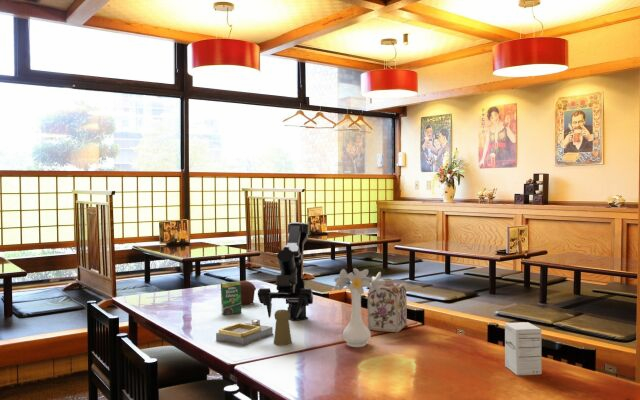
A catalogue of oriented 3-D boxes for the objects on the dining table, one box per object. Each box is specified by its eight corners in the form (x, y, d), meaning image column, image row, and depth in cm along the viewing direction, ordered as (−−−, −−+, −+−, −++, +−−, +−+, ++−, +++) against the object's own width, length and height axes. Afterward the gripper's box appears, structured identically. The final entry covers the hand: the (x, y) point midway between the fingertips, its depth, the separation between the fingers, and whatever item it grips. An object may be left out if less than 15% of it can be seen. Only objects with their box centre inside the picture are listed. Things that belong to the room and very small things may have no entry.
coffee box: (222, 315, 217) (221, 283, 217) (221, 313, 220) (220, 282, 220) (241, 313, 220) (241, 282, 220) (239, 311, 223) (239, 280, 223)
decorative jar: (407, 325, 197) (407, 277, 196) (398, 333, 186) (398, 282, 186) (377, 322, 202) (376, 275, 201) (366, 330, 191) (366, 280, 191)
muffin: (261, 302, 242) (261, 280, 241) (245, 307, 232) (245, 284, 232) (241, 299, 248) (241, 278, 248) (225, 304, 239) (225, 282, 238)
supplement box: (504, 366, 150) (503, 322, 149) (529, 365, 150) (529, 321, 150) (516, 375, 142) (515, 329, 142) (542, 374, 143) (542, 328, 143)
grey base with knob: (246, 329, 194) (246, 317, 194) (272, 333, 188) (272, 321, 188) (216, 340, 181) (215, 327, 181) (242, 345, 174) (242, 332, 174)
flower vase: (390, 342, 175) (389, 267, 175) (351, 354, 163) (350, 273, 162) (362, 334, 185) (361, 263, 184) (323, 345, 172) (322, 269, 172)
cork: (289, 345, 173) (288, 312, 173) (271, 345, 174) (270, 312, 174) (293, 340, 179) (293, 308, 179) (276, 339, 180) (276, 307, 180)
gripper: (258, 265, 183) (251, 303, 172) (311, 265, 181) (307, 304, 170) (263, 284, 191) (257, 321, 180) (314, 284, 189) (311, 322, 178)
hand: (282, 317), depth 177 cm, fingers open, 9 cm apart
